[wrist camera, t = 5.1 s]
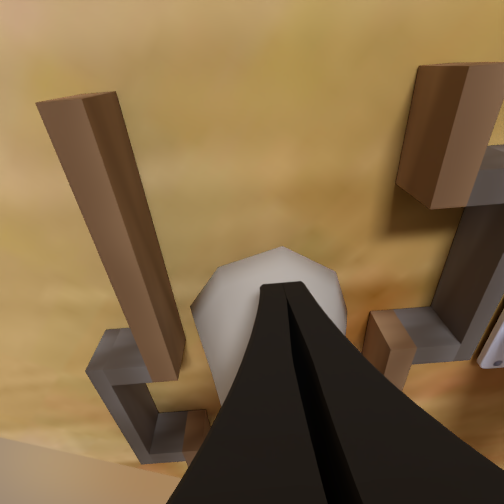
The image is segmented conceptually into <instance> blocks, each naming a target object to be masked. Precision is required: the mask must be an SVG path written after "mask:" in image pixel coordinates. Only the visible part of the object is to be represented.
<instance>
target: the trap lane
mask: <svg viewBox="0 0 504 504" xmlns="http://www.w3.org/2000/svg"><path fill="white" fill-rule="evenodd" d="M503 99H504V62H475V63H446V64H434V65H422V66H419V68H418V73H417V78H416V83H415V88H414V93H413V98H412V104H411V109H410V114H409V119H408V124H407V129H406V134H405V139H404V144H403V149H402V154H401V159H400V164H399V169H398V174H397V179H396V184H397V185H398V186H399V187H401V188H402V189H403V190H405V191H406V192H407V193H409V194H410V195H411V196H413V197H414V198H415V199H417V200H418V201H419V202H421V203H422V204H423V205H425V206H426V207H427V208H429V209H442V208H454V207H465V209H464V212H463V215H462V218H461V221H460V223H459V226H458V229H457V232H456V235H455V238H454V241H453V244H452V247H451V249H450V252H449V255H448V258H447V261H446V264H445V267H444V270H443V273H442V276H441V278H440V281H439V284H438V287H437V290H436V293H435V296H434V299H433V302H432V304H431V307H418V308H406V309H393V310H381V311H370V315H369V320H368V325H367V330H366V335H365V340H364V346H363V351H362V355H363V356H364V357H365V358H366V359H367V360H368V361H369V362H370V363H371V364H372V365H373V366H374V367H375V368H376V369H377V370H378V371H380V372H381V373H382V374H383V375H384V376H385V377H386V378H387V379H388V380H389V381H390V382H391V383H393V384H394V385H395V386H396V387H397V388H398V389H399V390H401V391H402V390H403V387H404V384H405V382H406V379H407V376H408V373H409V370H410V367H411V365H412V364H425V363H437V362H450V361H463V360H470V359H471V357H472V355H473V353H474V351H475V349H476V347H477V345H478V343H479V341H480V339H481V337H482V335H483V333H484V331H485V329H486V327H487V325H488V323H489V321H490V319H491V318H492V316H493V314H494V312H495V310H496V308H497V306H498V304H499V302H500V300H501V298H502V296H503V294H504V145H492V146H487V145H488V143H489V140H490V137H491V134H492V131H493V128H494V125H495V122H496V120H497V117H498V114H499V111H500V108H501V105H502V102H503ZM36 106H37V108H38V110H39V113H40V115H41V118H42V120H43V122H44V125H45V127H46V129H47V132H48V134H49V137H50V139H51V141H52V144H53V146H54V148H55V151H56V153H57V156H58V158H59V160H60V163H61V165H62V168H63V170H64V172H65V175H66V177H67V179H68V182H69V184H70V187H71V189H72V191H73V194H74V196H75V198H76V201H77V203H78V206H79V208H80V210H81V213H82V215H83V218H84V220H85V222H86V225H87V227H88V229H89V232H90V234H91V237H92V239H93V241H94V244H95V246H96V248H97V251H98V253H99V256H100V258H101V260H102V263H103V265H104V267H105V270H106V272H107V275H108V277H109V279H110V282H111V284H112V287H113V289H114V291H115V294H116V296H117V298H118V301H119V303H120V306H121V308H122V310H123V313H124V315H125V317H126V320H127V322H128V325H129V327H130V328H121V329H109V330H105V332H104V334H103V336H102V338H101V340H100V342H99V344H98V346H97V348H96V350H95V352H94V354H93V356H92V358H91V360H90V362H89V364H88V366H87V368H86V370H85V372H86V374H87V375H88V377H89V379H90V380H91V382H92V384H93V385H94V387H95V389H96V390H97V392H98V394H99V395H100V397H101V399H102V400H103V402H104V403H105V405H106V407H107V408H108V410H109V412H110V413H111V415H112V417H113V418H114V420H115V422H116V423H117V425H118V427H119V428H120V430H121V432H122V433H123V435H124V436H125V438H126V440H127V441H128V443H129V445H130V446H131V448H132V450H133V451H134V453H135V455H136V456H137V458H138V460H139V461H140V463H141V464H153V463H166V462H179V461H186V463H187V465H188V467H189V465H190V464H191V462H192V460H193V459H194V457H195V455H196V453H197V452H198V450H199V448H200V446H201V445H202V443H203V441H204V440H205V438H206V436H207V434H208V432H209V430H210V429H211V427H210V423H209V420H208V416H207V413H206V410H194V411H181V412H168V413H158V411H157V409H156V406H155V404H154V402H153V400H152V397H151V395H150V393H149V391H148V388H147V386H146V384H145V383H151V382H164V381H176V380H178V377H179V371H180V366H181V361H182V356H183V351H184V345H185V340H186V339H185V335H184V331H183V328H182V324H181V321H180V317H179V314H178V310H177V307H176V303H175V300H174V296H173V293H172V289H171V286H170V282H169V278H168V275H167V271H166V268H165V264H164V261H163V257H162V254H161V250H160V247H159V243H158V240H157V236H156V233H155V229H154V225H153V222H152V218H151V215H150V211H149V208H148V204H147V201H146V197H145V194H144V190H143V187H142V183H141V179H140V176H139V172H138V169H137V165H136V162H135V158H134V155H133V151H132V148H131V144H130V141H129V137H128V134H127V130H126V126H125V123H124V119H123V116H122V112H121V109H120V105H119V102H118V98H117V95H116V91H115V92H103V93H91V94H79V95H74V96H69V97H63V98H58V99H53V100H47V101H42V102H37V103H36Z"/></svg>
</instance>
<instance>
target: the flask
mask: <svg viewBox="0 0 504 504" xmlns="http://www.w3.org/2000/svg"><path fill="white" fill-rule="evenodd" d="M295 281H302V282H303V283H304V284H305V285H306V287H307V288H308V290H309V291H310V293H311V294H312V296H313V297H314V298H315V300H316V301H317V303H318V304H319V305H320V306H321V308H322V309H323V310H324V312H325V313H326V314H327V315H328V317H329V318H330V319H331V320H332V321H333V323H334V324H335V325H336V326H337V327H338V329H339V330H340V331H341V332H342V333H343V334H344V335H345V334H346V324H347V308H346V305H345V301H344V298H343V295H342V291H341V288H340V284H339V281H338V277H337V274H336V272H335V271H333V270H331V269H329V268H327V267H325V266H323V265H321V264H319V263H316V262H314V261H312V260H310V259H308V258H306V257H304V256H302V255H300V254H298V253H296V252H294V251H292V250H290V249H288V248H286V247H283V246H281V247H278V248H275V249H272V250H269V251H266V252H263V253H260V254H257V255H254V256H251V257H248V258H245V259H242V260H239V261H236V262H233V263H230V264H227V265H223V266H220V267H218V268H217V270H216V271H215V272H214V274H213V275H212V277H211V278H210V279H209V281H208V282H207V284H206V285H205V286H204V288H203V289H202V291H201V292H200V293H199V295H198V296H197V298H196V299H195V300H194V302H193V303H192V305H191V306H190V308H191V311H192V314H193V318H194V321H195V324H196V327H197V330H198V333H199V336H200V339H201V342H202V345H203V348H204V351H205V354H206V357H207V360H208V363H209V366H210V369H211V372H212V376H213V379H214V383H215V386H216V390H217V393H218V396H219V400H220V403H221V407H222V405H223V403H224V401H225V399H226V397H227V395H228V392H229V390H230V388H231V386H232V384H233V381H234V379H235V377H236V374H237V372H238V369H239V367H240V364H241V362H242V359H243V356H244V354H245V351H246V348H247V345H248V342H249V339H250V336H251V333H252V329H253V326H254V322H255V318H256V314H257V310H258V304H259V297H260V286H261V285H263V284H270V283H283V282H295Z"/></svg>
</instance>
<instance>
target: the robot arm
mask: <svg viewBox="0 0 504 504" xmlns="http://www.w3.org/2000/svg"><path fill="white" fill-rule="evenodd" d="M477 363H478V364H479V366H480V367H481V368H484V369H489V368H502V367H504V309H503V311H502V313H501V315H500V317H499V319H498V321H497V323H496V324H495V326H494V328H493V330H492V332H491V334H490V336H489V338H488V340H487V341H486V343H485V345H484V347H483V349H482V351H481V353H480V355H479V357H478V358H477ZM166 504H504V470H502V469H501V468H500V467H498V466H497V465H495V464H494V463H492V462H491V461H490V460H488V459H487V458H486V457H484V456H483V455H482V454H480V453H479V452H477V451H476V450H475V449H473V448H472V447H471V446H469V445H468V444H467V443H465V442H464V441H462V440H461V439H460V438H458V437H457V436H456V435H455V434H453V433H452V432H451V431H450V430H448V429H447V428H446V427H445V426H443V425H442V424H441V423H440V422H438V421H437V420H436V419H434V418H433V417H432V416H431V415H429V414H428V413H427V412H426V411H424V410H423V409H422V408H421V407H419V406H418V405H417V404H416V403H414V402H413V401H412V400H411V399H410V398H409V397H407V396H406V395H405V394H404V393H403V392H402V391H401V390H399V389H398V388H397V387H396V386H395V385H394V384H393V383H391V382H390V381H389V380H388V379H387V378H386V377H385V376H384V375H383V374H382V373H381V372H380V371H378V370H377V369H376V368H375V367H374V366H373V365H372V364H371V363H370V362H369V361H368V360H367V359H366V358H365V357H364V356H363V355H362V354H361V353H360V352H359V351H358V349H357V348H356V347H355V346H354V345H353V344H352V343H351V342H350V341H349V340H348V339H347V338H346V337H345V335H344V334H343V333H342V332H341V331H340V330H339V329H338V327H337V326H336V325H335V324H334V323H333V321H332V320H331V319H330V318H329V317H328V315H327V314H326V313H325V312H324V310H323V309H322V308H321V306H320V305H319V304H318V303H317V301H316V300H315V298H314V297H313V296H312V294H311V293H310V291H309V290H308V288H307V287H306V285H305V284H304V283H303V282H302V281H295V282H283V283H270V284H263V285H261V286H260V297H259V304H258V310H257V314H256V318H255V322H254V326H253V329H252V333H251V336H250V339H249V342H248V345H247V348H246V351H245V354H244V356H243V359H242V362H241V364H240V367H239V369H238V372H237V374H236V377H235V379H234V381H233V384H232V386H231V388H230V390H229V392H228V395H227V397H226V399H225V401H224V403H223V405H222V407H221V409H220V411H219V413H218V415H217V417H216V419H215V421H214V423H213V425H212V427H211V429H210V430H209V432H208V434H207V436H206V438H205V440H204V441H203V443H202V445H201V446H200V448H199V450H198V452H197V453H196V455H195V457H194V459H193V460H192V462H191V464H190V465H189V467H188V469H187V471H186V472H185V474H184V476H183V477H182V479H181V481H180V482H179V484H178V486H177V487H176V489H175V490H174V492H173V494H172V495H171V497H170V498H169V500H168V502H167V503H166Z"/></svg>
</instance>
